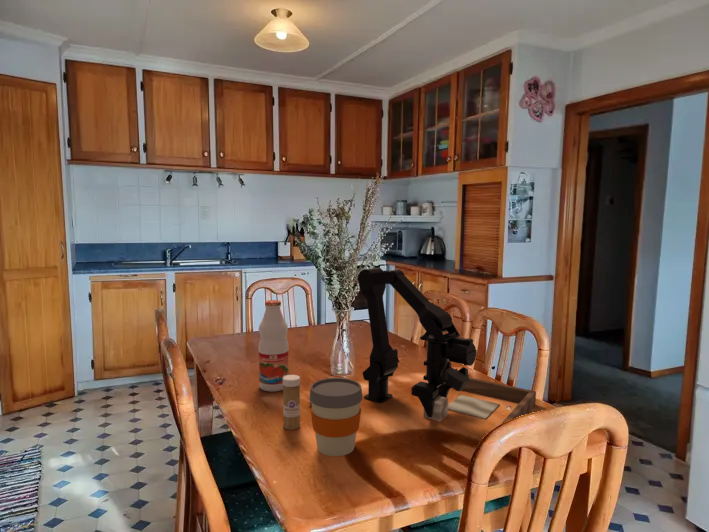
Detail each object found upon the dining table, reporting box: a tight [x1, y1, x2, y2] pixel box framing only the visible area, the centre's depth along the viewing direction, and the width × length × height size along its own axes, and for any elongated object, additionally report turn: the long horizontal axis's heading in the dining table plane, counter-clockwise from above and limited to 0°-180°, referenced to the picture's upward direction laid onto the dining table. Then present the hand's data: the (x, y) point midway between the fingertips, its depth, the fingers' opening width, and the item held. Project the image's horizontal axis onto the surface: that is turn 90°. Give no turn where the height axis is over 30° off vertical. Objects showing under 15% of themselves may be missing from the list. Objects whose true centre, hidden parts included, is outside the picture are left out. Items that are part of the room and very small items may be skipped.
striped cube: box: [423, 396, 449, 422], centre depth 132 cm, size 5×5×5 cm
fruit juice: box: [258, 299, 290, 393], centre depth 152 cm, size 9×9×28 cm
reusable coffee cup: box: [309, 377, 363, 457], centre depth 113 cm, size 13×12×15 cm
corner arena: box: [448, 376, 537, 425], centre depth 136 cm, size 28×26×4 cm
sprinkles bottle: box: [282, 374, 301, 431], centre depth 124 cm, size 5×5×14 cm
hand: (435, 412), depth 132 cm, fingers open, 7 cm apart
